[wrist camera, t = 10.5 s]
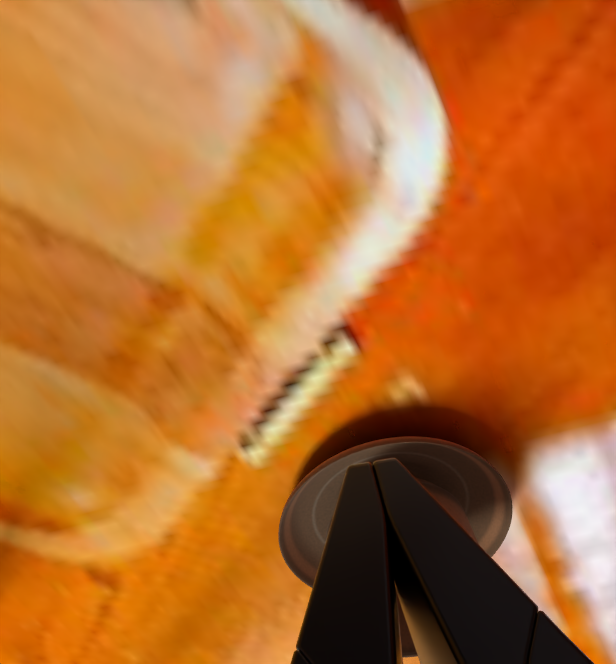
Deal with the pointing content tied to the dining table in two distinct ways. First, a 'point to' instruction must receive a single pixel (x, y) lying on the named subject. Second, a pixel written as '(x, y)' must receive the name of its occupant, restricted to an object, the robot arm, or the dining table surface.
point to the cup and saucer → (429, 469)
